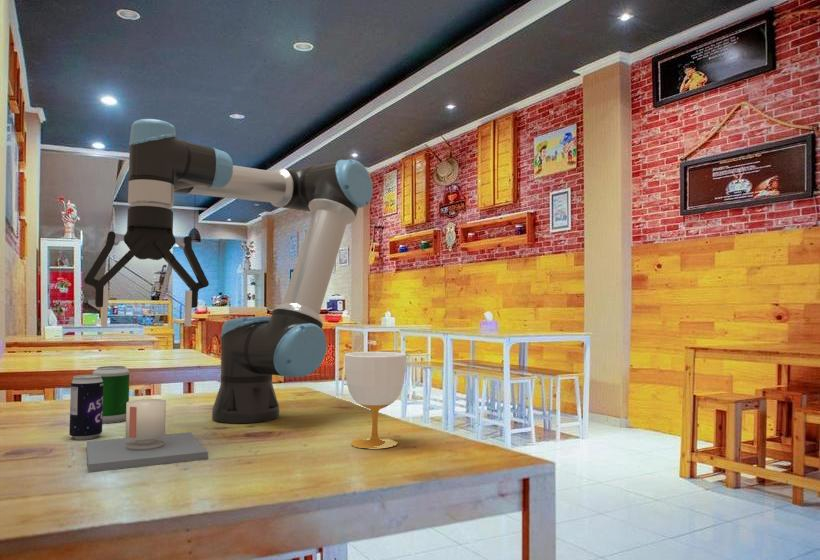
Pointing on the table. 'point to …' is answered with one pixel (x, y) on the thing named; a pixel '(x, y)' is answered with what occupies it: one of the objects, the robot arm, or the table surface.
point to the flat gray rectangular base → (143, 451)
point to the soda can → (114, 392)
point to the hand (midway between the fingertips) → (147, 326)
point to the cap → (145, 419)
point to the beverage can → (86, 407)
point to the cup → (374, 384)
